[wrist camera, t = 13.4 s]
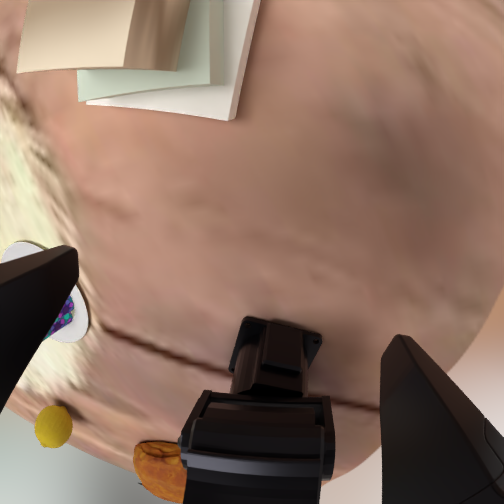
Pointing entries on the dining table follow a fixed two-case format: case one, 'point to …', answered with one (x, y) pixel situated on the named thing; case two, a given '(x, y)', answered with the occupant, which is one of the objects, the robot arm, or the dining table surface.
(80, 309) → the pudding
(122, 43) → the birch cube
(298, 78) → the dining table surface
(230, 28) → the base block
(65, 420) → the lemon
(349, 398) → the dining table surface
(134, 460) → the croissant
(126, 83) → the sage green block
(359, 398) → the dining table surface
